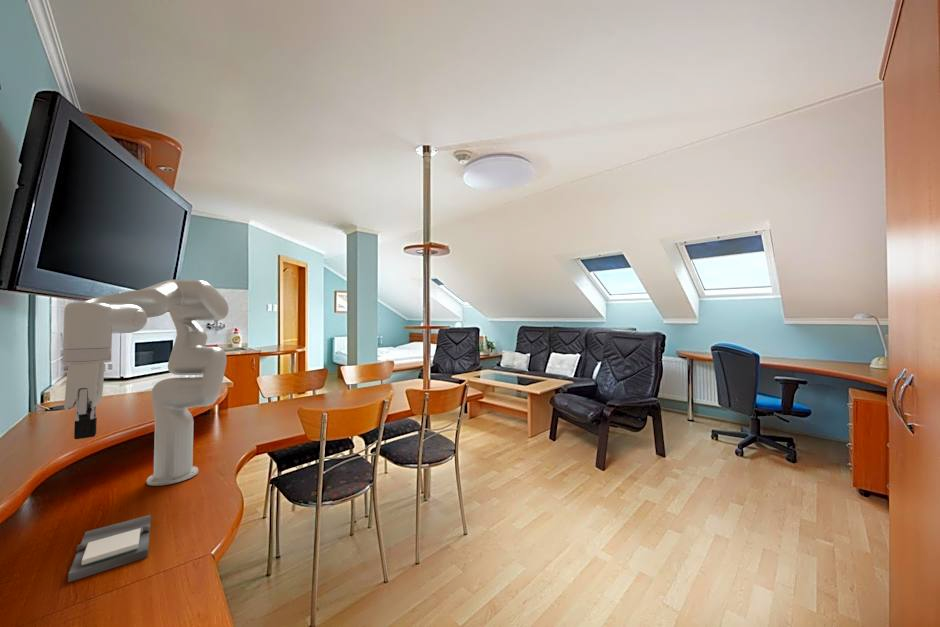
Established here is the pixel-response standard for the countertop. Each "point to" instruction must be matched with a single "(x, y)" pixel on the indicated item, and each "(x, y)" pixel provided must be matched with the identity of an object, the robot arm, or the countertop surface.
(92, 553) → the tile
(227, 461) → the countertop surface
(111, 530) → the board
